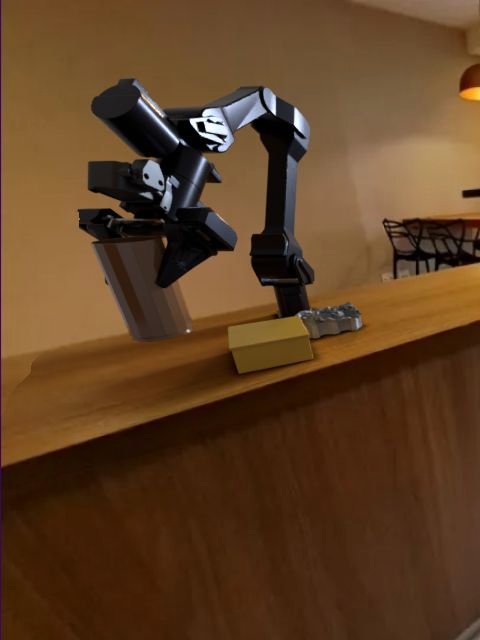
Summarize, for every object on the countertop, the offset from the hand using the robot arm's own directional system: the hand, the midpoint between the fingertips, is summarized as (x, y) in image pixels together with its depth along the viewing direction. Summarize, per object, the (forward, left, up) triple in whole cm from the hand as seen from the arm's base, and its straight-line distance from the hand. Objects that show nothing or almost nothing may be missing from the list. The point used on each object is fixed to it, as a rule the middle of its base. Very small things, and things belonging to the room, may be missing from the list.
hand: (135, 286), depth 54 cm
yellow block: (-3, +13, -13) cm, 19 cm away
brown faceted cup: (-1, +1, -7) cm, 7 cm away
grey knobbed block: (-11, +23, -13) cm, 29 cm away
